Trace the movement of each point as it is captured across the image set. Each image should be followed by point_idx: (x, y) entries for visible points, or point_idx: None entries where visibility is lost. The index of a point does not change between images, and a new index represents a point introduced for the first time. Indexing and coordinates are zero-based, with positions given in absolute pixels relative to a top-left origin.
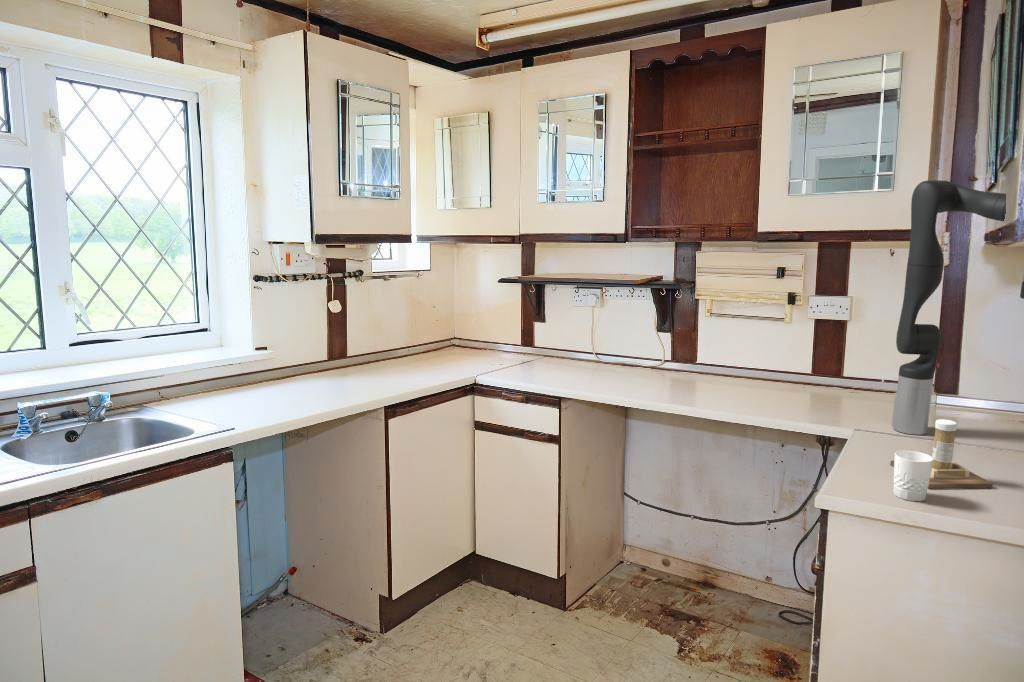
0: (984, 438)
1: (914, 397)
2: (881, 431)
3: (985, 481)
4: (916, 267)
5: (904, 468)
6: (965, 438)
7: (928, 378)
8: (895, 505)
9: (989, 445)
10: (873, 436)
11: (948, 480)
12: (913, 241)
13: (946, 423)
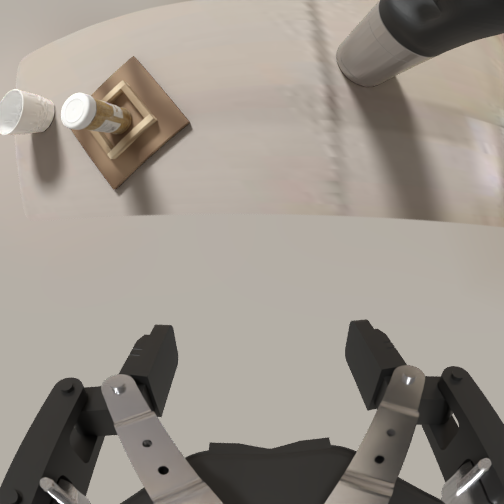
0: (388, 173)
1: (361, 33)
2: (325, 22)
3: (116, 180)
4: None
5: (5, 111)
6: (371, 144)
7: (396, 39)
8: None
9: (351, 178)
10: (284, 13)
11: (91, 138)
12: None
13: (62, 114)
